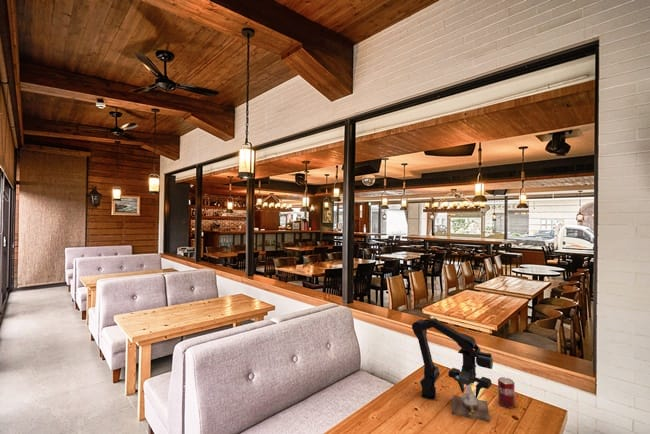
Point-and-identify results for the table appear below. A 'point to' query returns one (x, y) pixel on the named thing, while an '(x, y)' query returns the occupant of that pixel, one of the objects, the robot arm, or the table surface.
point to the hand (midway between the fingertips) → (469, 395)
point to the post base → (478, 413)
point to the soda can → (506, 392)
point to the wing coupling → (469, 399)
